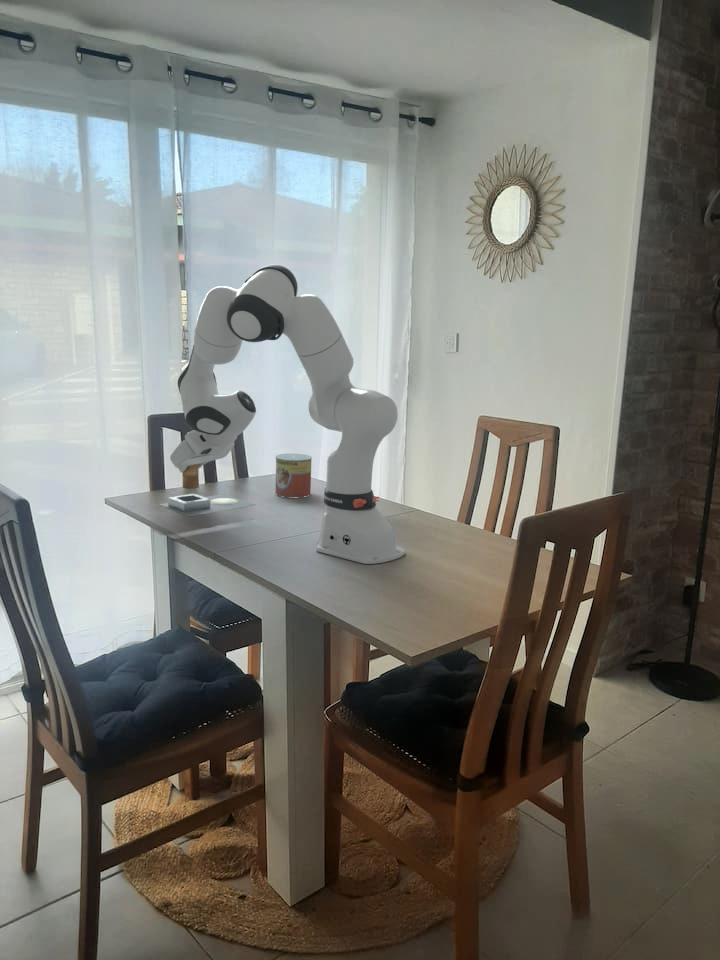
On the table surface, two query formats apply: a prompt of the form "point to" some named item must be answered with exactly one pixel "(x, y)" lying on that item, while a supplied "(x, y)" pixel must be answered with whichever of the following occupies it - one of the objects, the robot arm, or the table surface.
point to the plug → (191, 477)
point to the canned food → (293, 475)
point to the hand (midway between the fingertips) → (188, 468)
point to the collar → (189, 502)
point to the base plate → (215, 505)
